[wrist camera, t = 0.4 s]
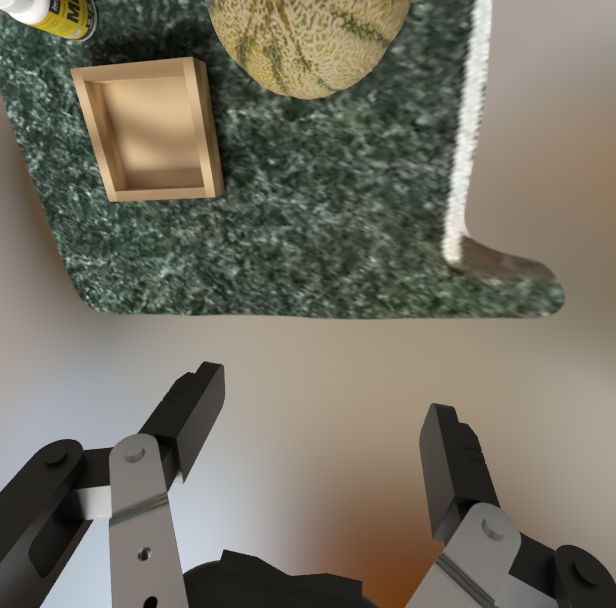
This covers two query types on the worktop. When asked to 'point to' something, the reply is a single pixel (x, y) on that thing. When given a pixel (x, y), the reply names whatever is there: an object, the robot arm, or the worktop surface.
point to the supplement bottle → (56, 16)
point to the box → (152, 128)
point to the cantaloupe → (307, 40)
